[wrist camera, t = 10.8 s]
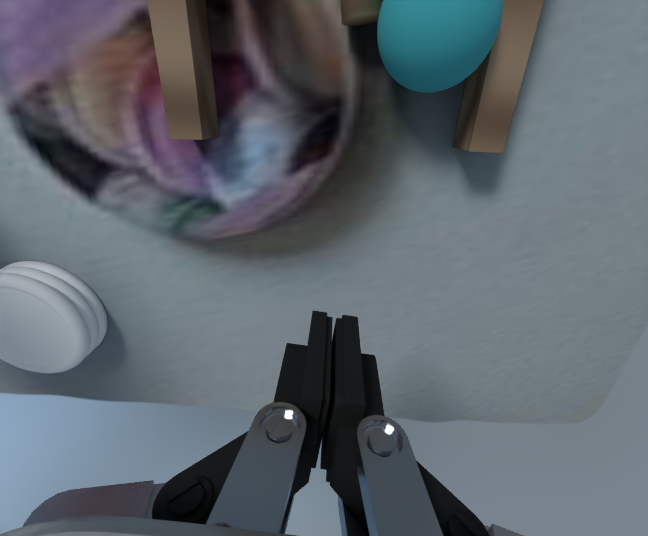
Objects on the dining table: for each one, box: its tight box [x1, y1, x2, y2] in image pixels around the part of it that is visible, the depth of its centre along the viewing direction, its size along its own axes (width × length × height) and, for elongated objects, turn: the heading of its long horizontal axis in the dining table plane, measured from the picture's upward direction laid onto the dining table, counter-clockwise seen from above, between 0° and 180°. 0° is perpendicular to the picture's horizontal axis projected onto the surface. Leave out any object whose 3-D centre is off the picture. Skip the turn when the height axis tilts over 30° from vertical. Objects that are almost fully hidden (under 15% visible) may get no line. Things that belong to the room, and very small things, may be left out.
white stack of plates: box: [0, 261, 108, 373], centre depth 28 cm, size 10×10×4 cm
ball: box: [377, 0, 503, 93], centre depth 16 cm, size 6×6×6 cm
